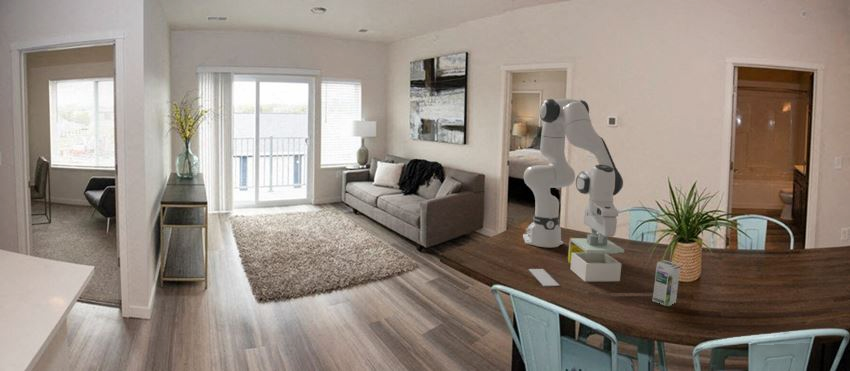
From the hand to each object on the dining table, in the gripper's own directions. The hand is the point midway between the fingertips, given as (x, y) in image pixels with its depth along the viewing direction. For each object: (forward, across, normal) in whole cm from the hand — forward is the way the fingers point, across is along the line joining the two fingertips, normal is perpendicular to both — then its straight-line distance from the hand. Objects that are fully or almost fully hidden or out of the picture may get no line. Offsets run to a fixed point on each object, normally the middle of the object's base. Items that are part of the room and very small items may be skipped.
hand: (596, 241), depth 189 cm
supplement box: (+15, -16, -1) cm, 22 cm away
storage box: (+15, 0, 0) cm, 15 cm away
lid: (+2, 0, 0) cm, 2 cm away
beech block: (+14, -2, +2) cm, 14 cm away
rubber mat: (+15, 0, -16) cm, 22 cm away
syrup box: (+15, +26, +14) cm, 33 cm away
